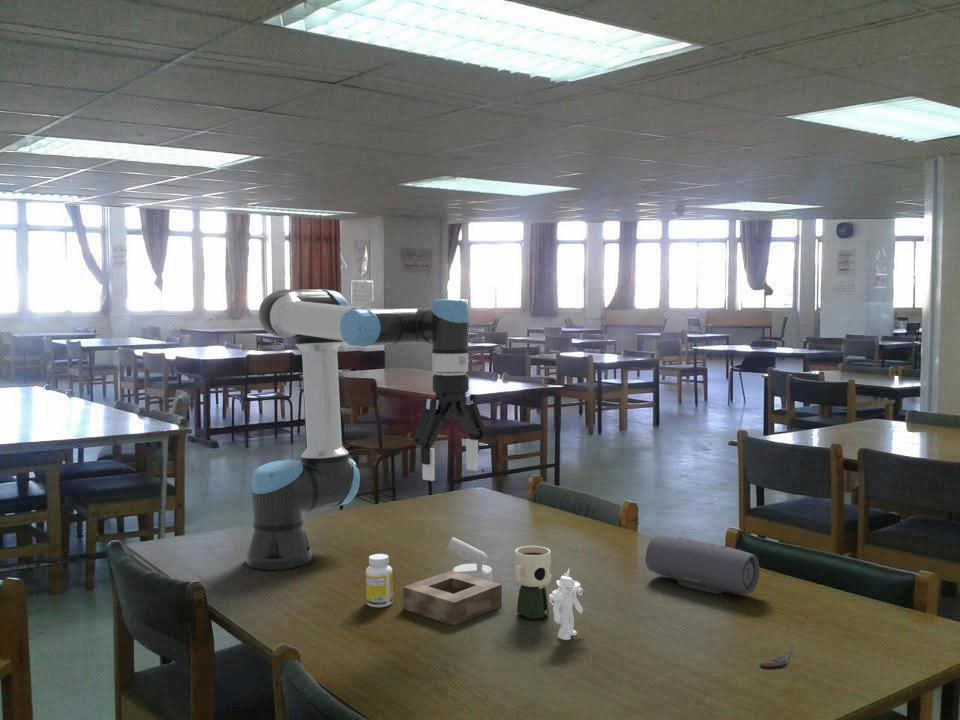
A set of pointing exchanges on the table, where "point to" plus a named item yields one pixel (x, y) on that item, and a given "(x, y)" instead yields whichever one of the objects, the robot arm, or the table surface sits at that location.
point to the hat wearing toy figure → (566, 605)
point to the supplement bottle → (379, 581)
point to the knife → (779, 659)
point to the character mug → (532, 580)
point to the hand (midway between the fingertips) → (450, 474)
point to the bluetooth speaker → (703, 564)
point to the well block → (452, 597)
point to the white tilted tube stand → (474, 556)
